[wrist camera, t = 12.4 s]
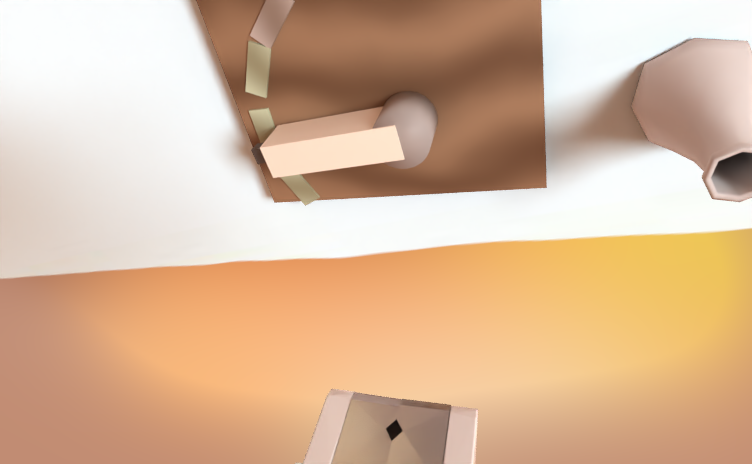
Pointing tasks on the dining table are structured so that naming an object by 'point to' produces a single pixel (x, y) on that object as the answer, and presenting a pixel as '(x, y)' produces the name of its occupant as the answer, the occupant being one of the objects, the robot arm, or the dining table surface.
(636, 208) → the dining table surface
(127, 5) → the dining table surface
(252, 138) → the board
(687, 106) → the flask
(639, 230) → the dining table surface
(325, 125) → the peg lever
